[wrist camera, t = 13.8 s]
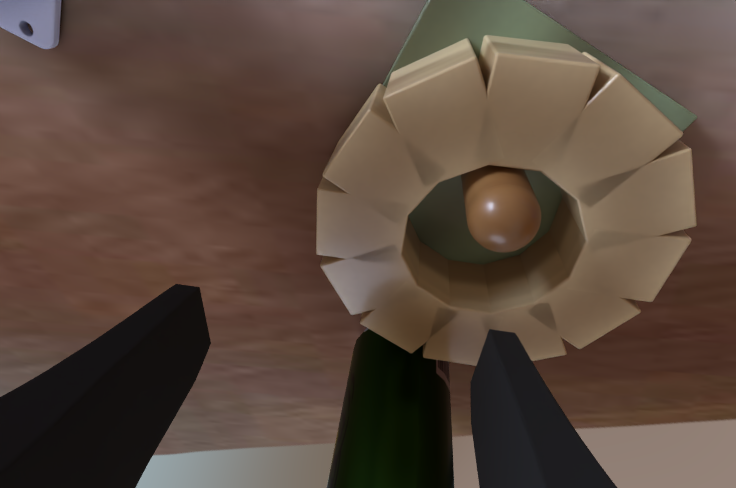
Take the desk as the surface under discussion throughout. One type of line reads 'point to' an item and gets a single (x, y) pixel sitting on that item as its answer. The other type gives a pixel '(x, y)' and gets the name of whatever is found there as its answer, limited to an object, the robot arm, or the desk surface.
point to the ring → (514, 150)
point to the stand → (493, 183)
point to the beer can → (393, 420)
